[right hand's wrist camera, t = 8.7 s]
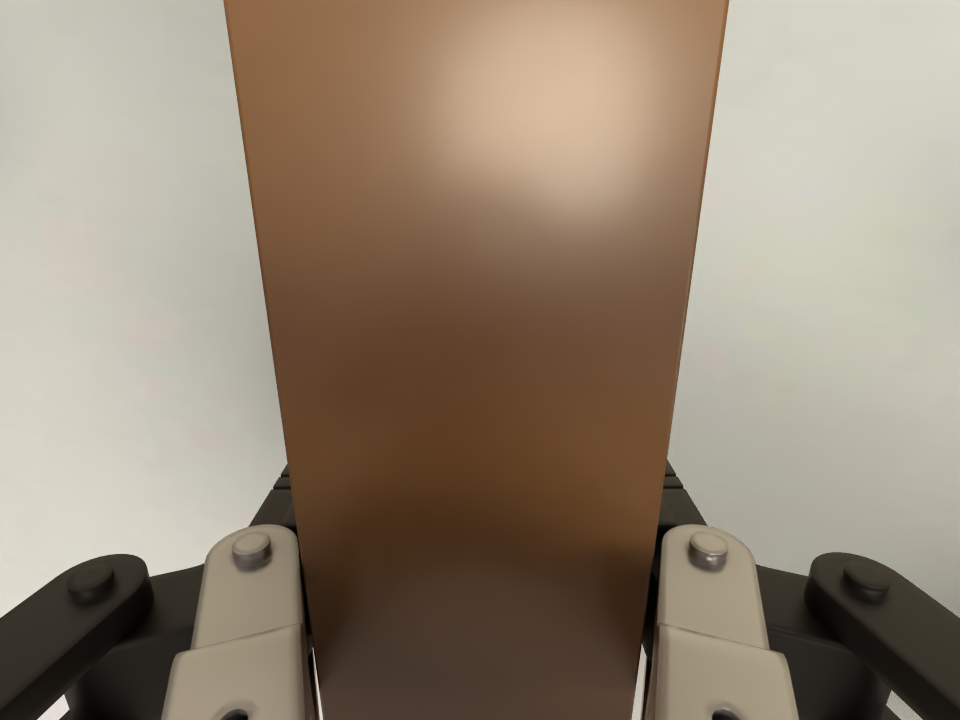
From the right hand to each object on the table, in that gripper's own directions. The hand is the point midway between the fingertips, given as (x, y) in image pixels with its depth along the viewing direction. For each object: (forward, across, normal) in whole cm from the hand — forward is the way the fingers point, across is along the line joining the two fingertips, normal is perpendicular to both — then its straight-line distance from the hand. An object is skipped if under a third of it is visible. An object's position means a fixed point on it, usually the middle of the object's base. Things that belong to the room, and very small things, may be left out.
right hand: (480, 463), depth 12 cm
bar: (+3, 0, +9) cm, 10 cm away
